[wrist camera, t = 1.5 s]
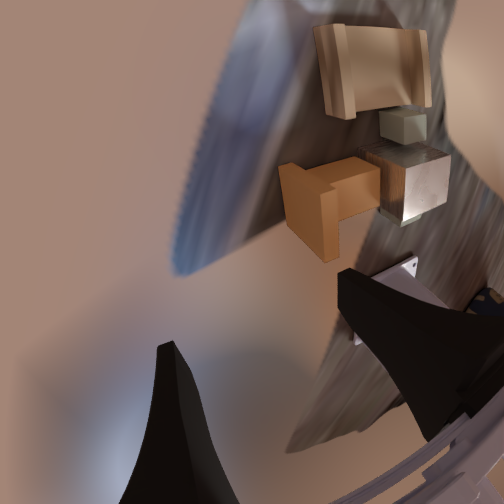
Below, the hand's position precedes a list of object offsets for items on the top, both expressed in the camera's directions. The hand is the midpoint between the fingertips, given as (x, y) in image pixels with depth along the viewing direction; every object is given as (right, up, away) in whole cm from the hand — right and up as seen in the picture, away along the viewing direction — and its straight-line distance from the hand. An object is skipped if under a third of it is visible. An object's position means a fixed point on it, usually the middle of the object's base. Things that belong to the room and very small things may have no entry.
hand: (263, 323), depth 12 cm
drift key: (+5, +8, +9) cm, 13 cm away
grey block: (+10, +10, +10) cm, 17 cm away
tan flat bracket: (+8, +16, +6) cm, 18 cm away
